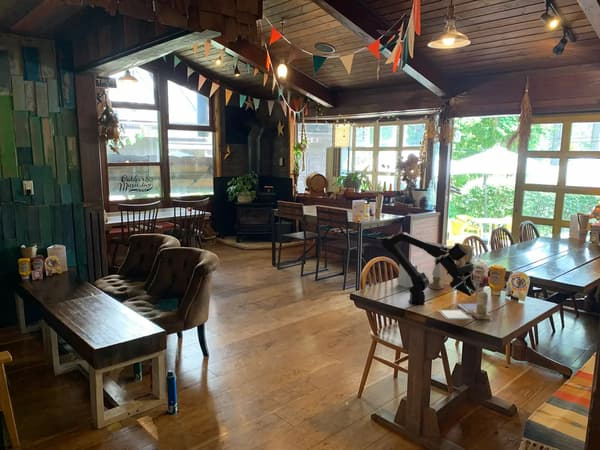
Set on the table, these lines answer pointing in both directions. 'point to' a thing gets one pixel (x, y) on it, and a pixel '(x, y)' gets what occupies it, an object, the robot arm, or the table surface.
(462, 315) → the marked card
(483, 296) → the wooden stamp
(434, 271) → the candle holder
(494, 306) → the table surface
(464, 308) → the ink pad
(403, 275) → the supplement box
